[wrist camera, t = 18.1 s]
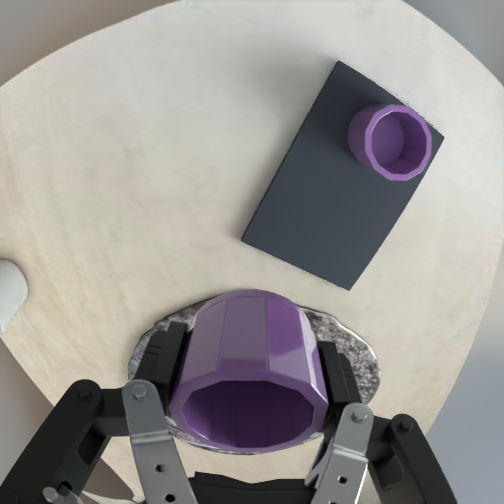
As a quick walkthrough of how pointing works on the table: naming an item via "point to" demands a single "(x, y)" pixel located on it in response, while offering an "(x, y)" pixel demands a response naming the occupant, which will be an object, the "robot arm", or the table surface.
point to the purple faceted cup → (249, 375)
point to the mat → (332, 189)
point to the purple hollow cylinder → (390, 140)
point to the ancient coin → (323, 330)
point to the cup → (10, 292)
